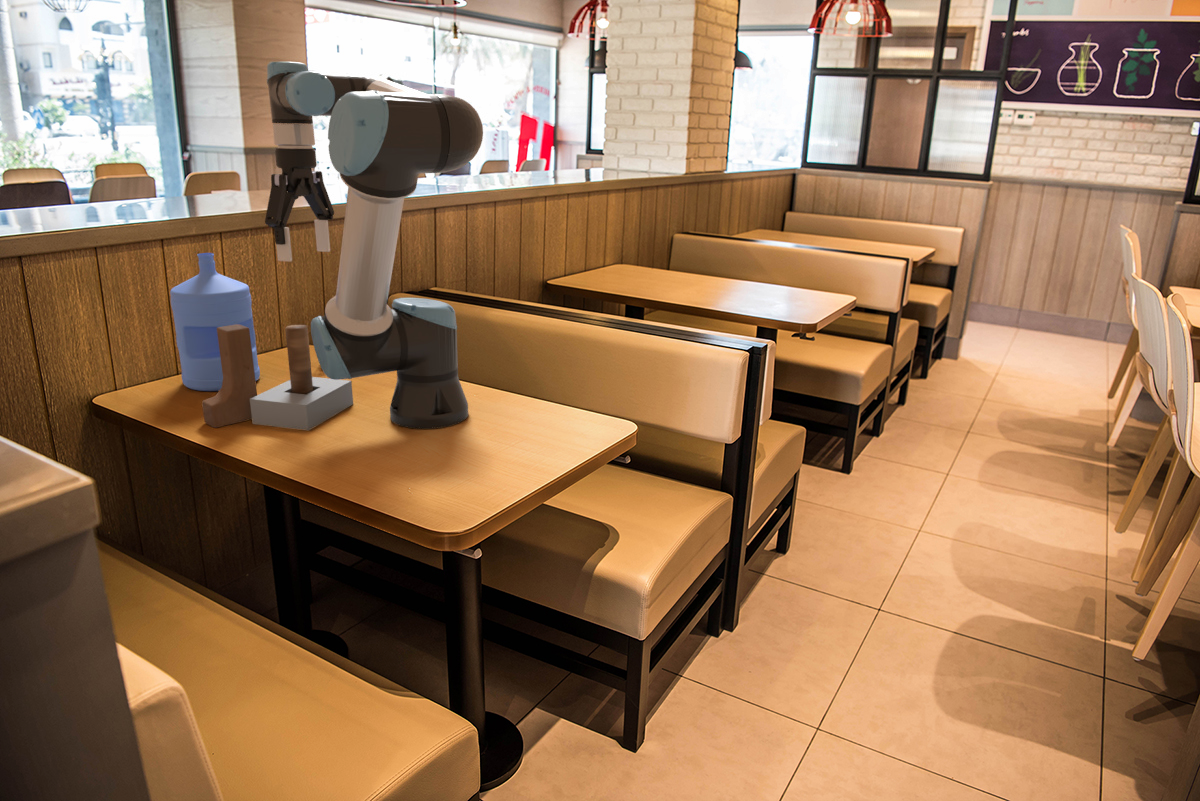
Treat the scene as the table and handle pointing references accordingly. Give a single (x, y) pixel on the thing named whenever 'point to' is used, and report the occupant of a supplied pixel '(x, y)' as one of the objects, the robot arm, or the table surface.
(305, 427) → the socket board
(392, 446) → the table surface
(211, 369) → the water jug
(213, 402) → the brown boot
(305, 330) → the pin
